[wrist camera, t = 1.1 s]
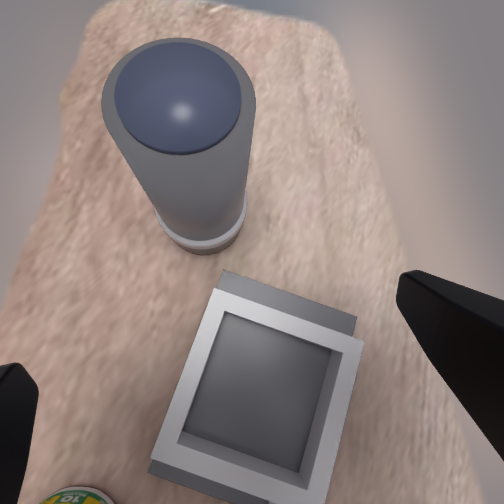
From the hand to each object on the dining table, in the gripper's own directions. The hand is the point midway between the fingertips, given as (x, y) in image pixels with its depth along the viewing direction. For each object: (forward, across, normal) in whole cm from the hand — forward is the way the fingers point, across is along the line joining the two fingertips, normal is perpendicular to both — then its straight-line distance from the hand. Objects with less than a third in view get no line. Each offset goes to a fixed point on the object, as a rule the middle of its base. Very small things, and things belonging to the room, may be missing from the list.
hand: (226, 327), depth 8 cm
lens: (+15, 0, +4) cm, 15 cm away
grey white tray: (+7, -1, +12) cm, 14 cm away
